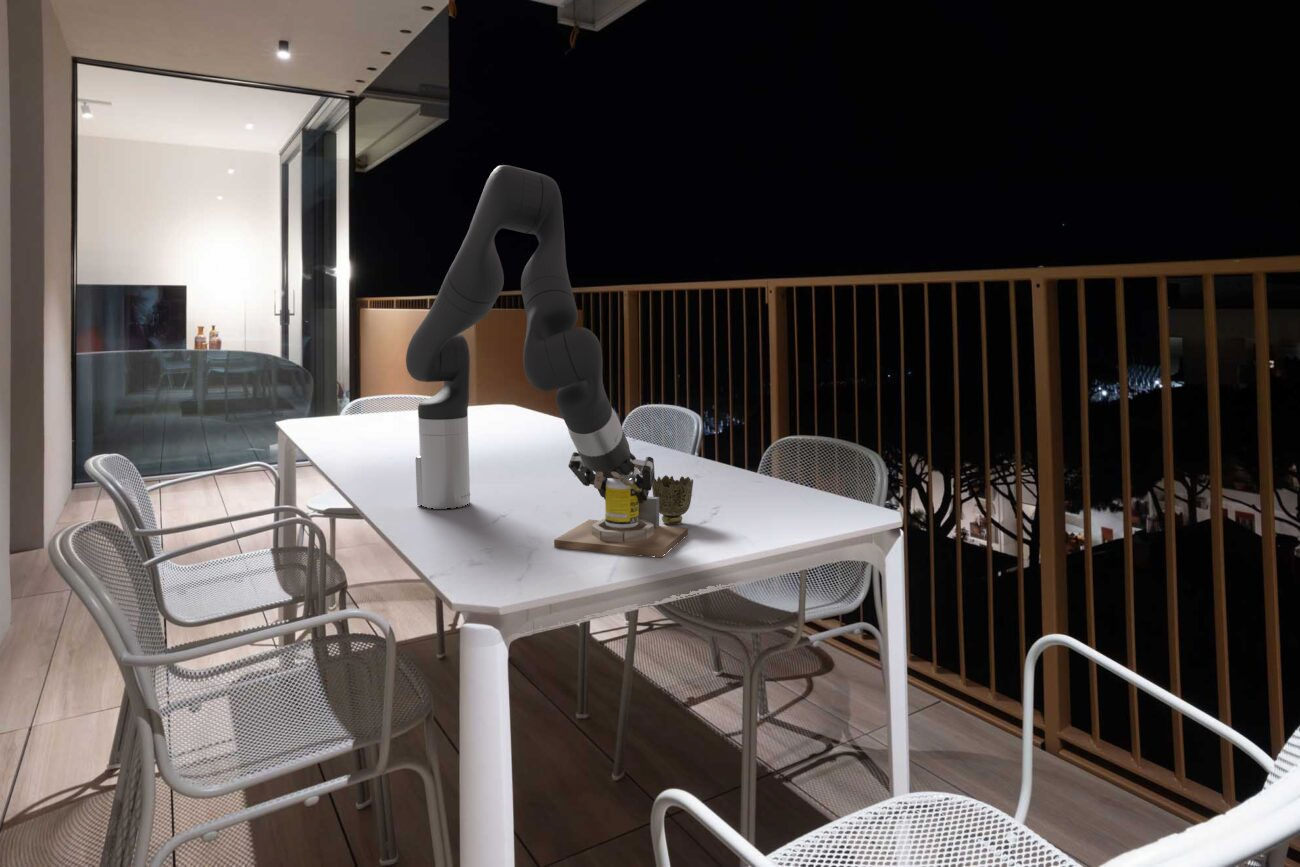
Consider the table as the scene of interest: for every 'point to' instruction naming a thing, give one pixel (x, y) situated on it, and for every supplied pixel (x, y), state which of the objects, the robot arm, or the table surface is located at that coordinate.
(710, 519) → the table surface
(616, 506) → the supplement bottle
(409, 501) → the table surface
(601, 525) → the socket board
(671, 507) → the cup
